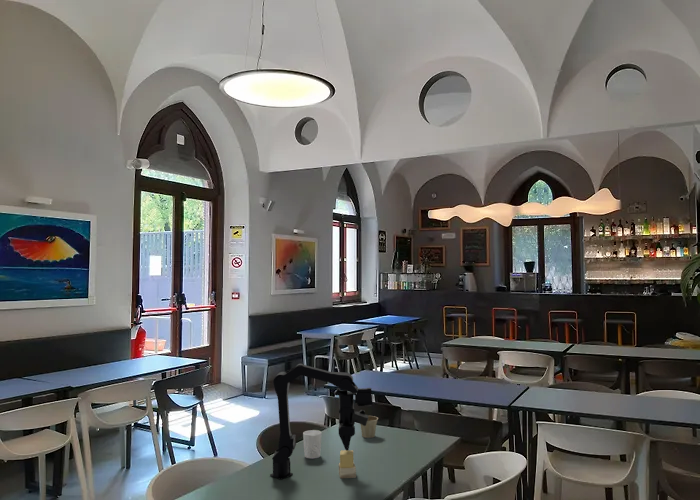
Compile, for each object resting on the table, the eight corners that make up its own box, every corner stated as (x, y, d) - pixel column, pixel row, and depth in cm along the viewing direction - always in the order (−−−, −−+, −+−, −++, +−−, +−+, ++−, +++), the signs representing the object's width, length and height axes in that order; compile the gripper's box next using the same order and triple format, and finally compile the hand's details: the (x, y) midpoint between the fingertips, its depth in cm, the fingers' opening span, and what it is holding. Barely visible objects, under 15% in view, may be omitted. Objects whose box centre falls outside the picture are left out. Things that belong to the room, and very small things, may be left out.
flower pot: (381, 435, 267) (381, 417, 268) (372, 440, 259) (372, 421, 260) (365, 432, 272) (364, 414, 273) (355, 437, 264) (354, 419, 265)
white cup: (299, 457, 237) (299, 434, 237) (309, 452, 244) (309, 429, 244) (315, 460, 233) (315, 436, 234) (325, 454, 240) (324, 431, 241)
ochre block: (353, 467, 214) (353, 454, 214) (340, 467, 214) (340, 454, 214) (353, 463, 219) (353, 450, 219) (340, 463, 219) (340, 450, 219)
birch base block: (355, 478, 213) (355, 467, 214) (340, 479, 213) (340, 468, 213) (353, 472, 219) (353, 462, 219) (338, 473, 219) (338, 463, 219)
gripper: (367, 411, 208) (368, 453, 207) (365, 400, 226) (366, 438, 226) (338, 412, 208) (338, 454, 207) (338, 400, 226) (339, 439, 226)
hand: (347, 446), depth 216 cm, fingers open, 9 cm apart
